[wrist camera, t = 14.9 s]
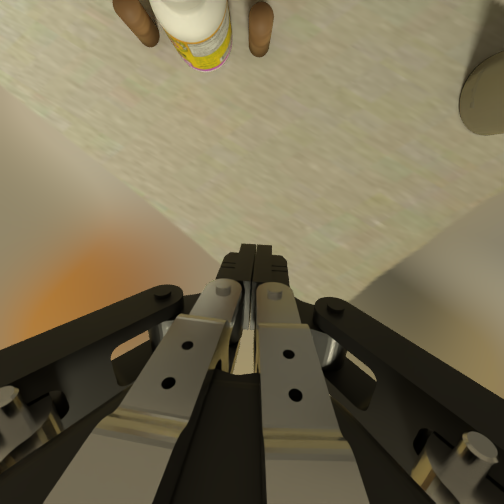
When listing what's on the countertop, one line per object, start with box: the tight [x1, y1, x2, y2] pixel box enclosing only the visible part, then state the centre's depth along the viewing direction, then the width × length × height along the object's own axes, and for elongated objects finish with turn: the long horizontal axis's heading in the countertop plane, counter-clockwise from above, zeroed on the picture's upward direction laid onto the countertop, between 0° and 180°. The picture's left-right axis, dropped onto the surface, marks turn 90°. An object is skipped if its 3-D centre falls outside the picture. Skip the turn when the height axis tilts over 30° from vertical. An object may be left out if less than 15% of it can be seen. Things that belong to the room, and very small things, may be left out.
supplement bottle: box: [149, 0, 232, 72], centre depth 24 cm, size 7×7×13 cm
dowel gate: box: [113, 0, 274, 57], centre depth 27 cm, size 15×2×6 cm, turn 86°
